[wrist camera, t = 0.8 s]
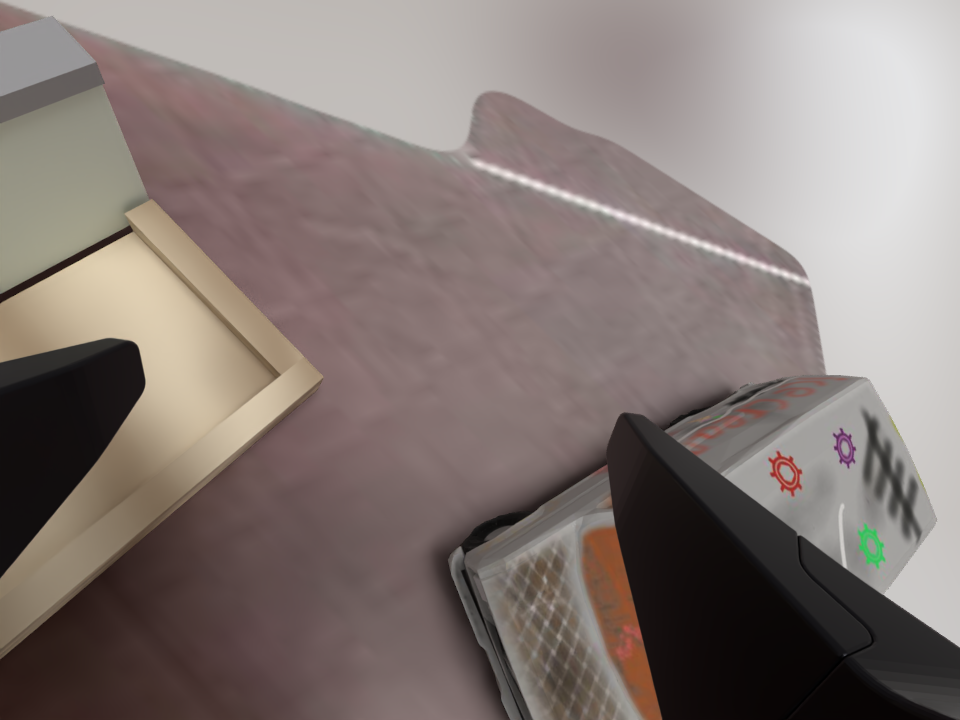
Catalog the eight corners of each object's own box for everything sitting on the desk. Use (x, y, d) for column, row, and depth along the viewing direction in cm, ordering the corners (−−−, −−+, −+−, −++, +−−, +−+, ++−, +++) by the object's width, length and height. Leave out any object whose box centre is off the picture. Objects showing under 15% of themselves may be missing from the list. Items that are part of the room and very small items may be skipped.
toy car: (426, 549, 24) (521, 587, 15) (725, 382, 35) (882, 346, 26) (510, 760, 23) (664, 933, 14) (788, 520, 34) (971, 531, 25)
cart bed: (-54, 705, 16) (-117, 748, 13) (-302, 495, 15) (-425, 497, 12) (317, 389, 23) (323, 377, 21) (166, 233, 22) (152, 198, 20)
